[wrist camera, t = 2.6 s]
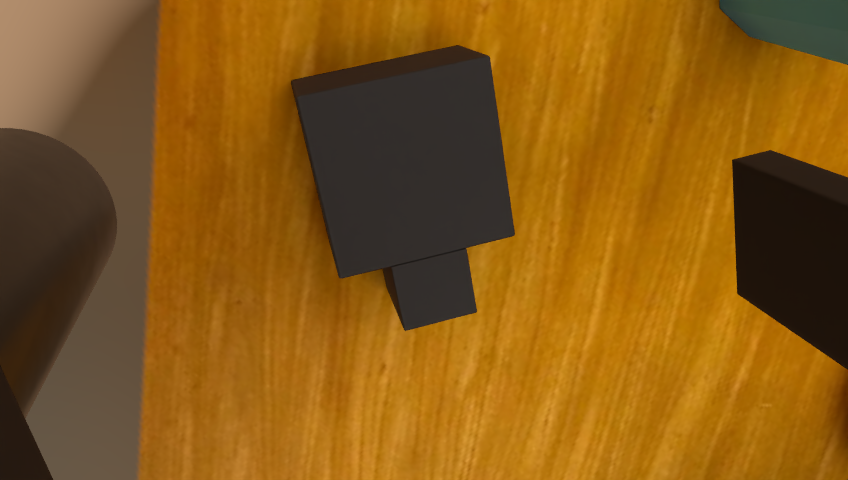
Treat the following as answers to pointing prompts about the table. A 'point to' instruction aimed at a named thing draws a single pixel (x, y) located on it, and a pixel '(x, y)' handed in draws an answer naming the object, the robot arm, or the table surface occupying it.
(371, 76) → the tab pad
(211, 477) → the table surface
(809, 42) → the cup
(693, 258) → the table surface
